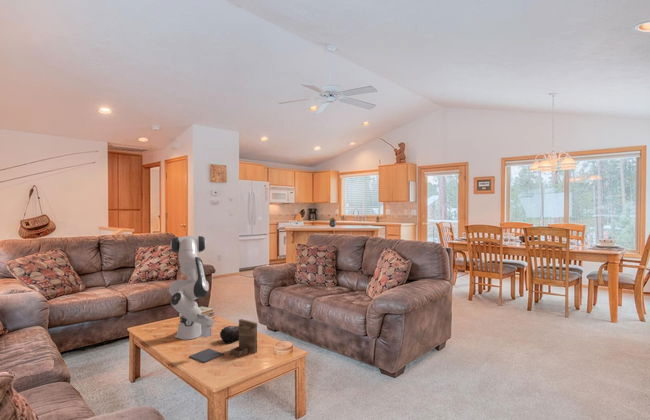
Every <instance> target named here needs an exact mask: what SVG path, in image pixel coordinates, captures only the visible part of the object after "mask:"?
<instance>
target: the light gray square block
mask: <svg viewBox="0 0 650 420" xmlns="http://www.w3.org/2000/svg"><path fill="white" fill-rule="evenodd" d="M211 336H212V326H211V327H210V328H209V327H207V326H205V325H202V324H201V336H200V337H202V338H208V337H211Z"/></svg>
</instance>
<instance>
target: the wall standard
mask: <svg viewBox="0 0 650 420" xmlns="http://www.w3.org/2000/svg"><path fill="white" fill-rule="evenodd" d="M238 326H239V340H238V346H236V347H234V348H232V349H230V355H231V356H233V357H237V358H240V357H243V356H245V355H248V353H252V354H257V353H258V322H254V321H250V320H247V319H243V318H240V319H238Z"/></svg>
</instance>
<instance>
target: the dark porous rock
mask: <svg viewBox="0 0 650 420" xmlns="http://www.w3.org/2000/svg"><path fill="white" fill-rule="evenodd" d="M219 335H220V336H219V337H220V338H221V341H222V343H223V344H232V343H235V342H239V325H237V326H235V325H234V326H233V325H228V326H225V327H223V328H222V329H221V331H220V333H219Z"/></svg>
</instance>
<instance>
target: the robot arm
mask: <svg viewBox="0 0 650 420" xmlns="http://www.w3.org/2000/svg"><path fill="white" fill-rule="evenodd" d="M169 244H170V250H171V252H173V253H175V254H178V256H177V257H178V258H177V259H178V264H179V266H180V272H181V273H182V274H183V275H185V276H187V277H188V278H189V279H179V280H174V281H172V282H171V283H170V284H169V286H168V292H169V294H170V295H171V299H170V305H171V306H172V307H173V309H174V310H176V312H178V313H179V314H180V317H179V324H178V325H177V333H176V334H174V338H175V339H180V340H184V341H185V340H192V339H197V338H199V337H202V336H201V324H202V325H205V326H207V327H209V328H210V327H211V328H212V327H213V325H214V324H215V320H214V319H213V318H211V317H210V316H208V315H207V314H203V313H202V309H201V308H200V307H199V306H198V305H199V304H198V303H197V301H195V300H197V299H201V298H205V297H206V296H207V295H208V293H209V292H210V291H209V290H210V284H209V282H208V280H207V277H206V272H205V267H204V262H203V259H201V257H199V256H198V253H201V252H204V251H205V249H206V247H207V240H206V238H205V237H204V236H202V235H185V236H175V237H172V238H171V241H170V243H169Z"/></svg>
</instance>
